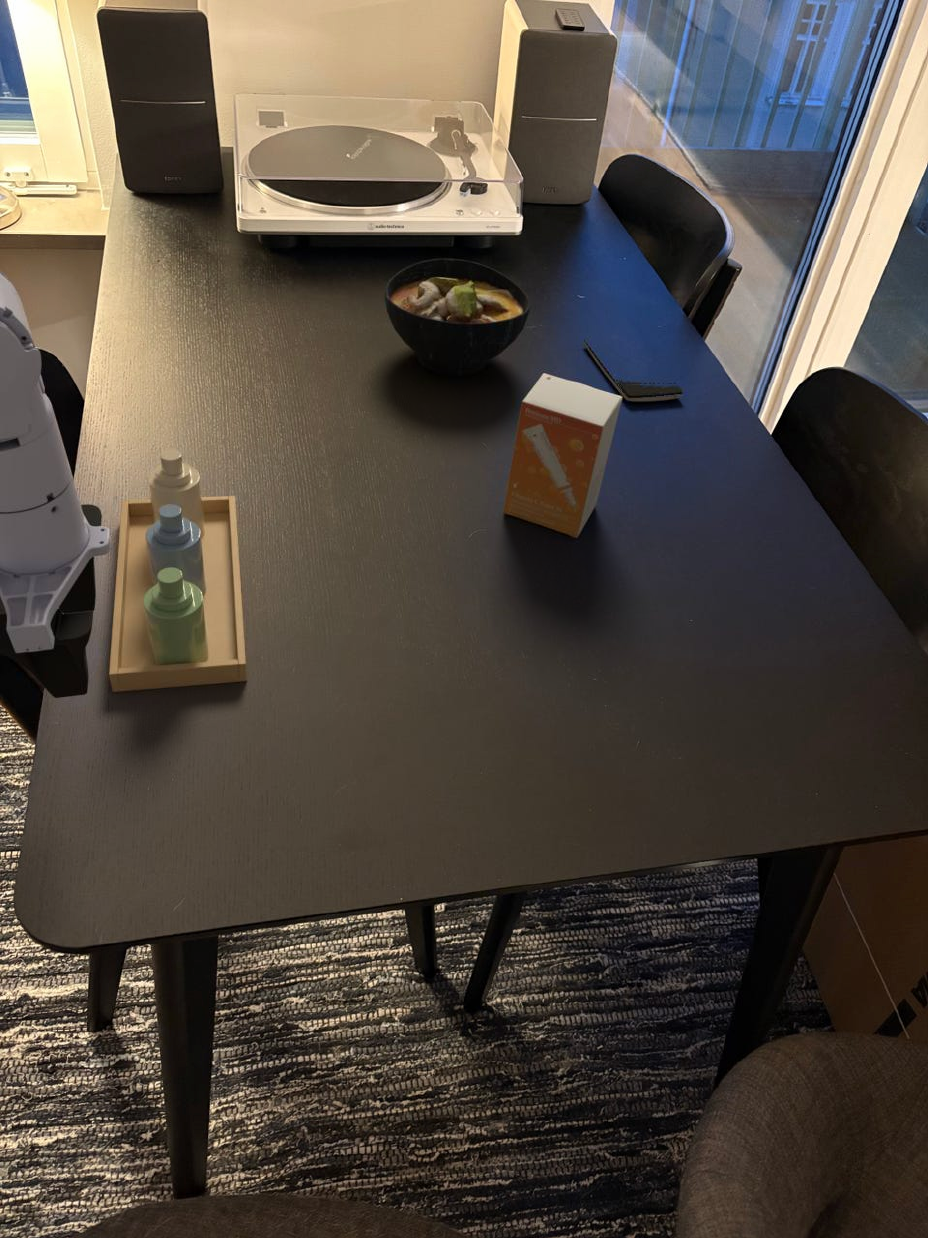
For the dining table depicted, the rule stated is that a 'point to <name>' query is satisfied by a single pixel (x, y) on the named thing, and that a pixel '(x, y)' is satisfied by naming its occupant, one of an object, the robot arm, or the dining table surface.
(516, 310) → the bowl
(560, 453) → the small box
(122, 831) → the dining table surface
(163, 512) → the blue bottle
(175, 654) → the sage bottle
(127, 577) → the tray
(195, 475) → the cream bottle
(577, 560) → the dining table surface
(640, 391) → the laptop
